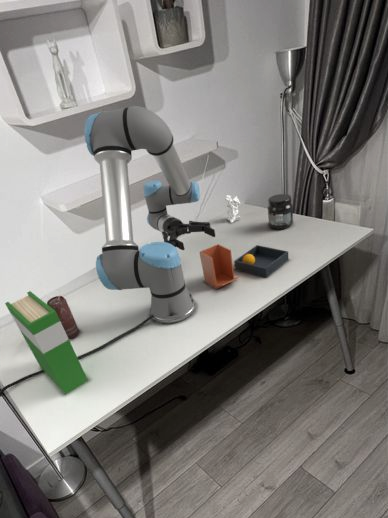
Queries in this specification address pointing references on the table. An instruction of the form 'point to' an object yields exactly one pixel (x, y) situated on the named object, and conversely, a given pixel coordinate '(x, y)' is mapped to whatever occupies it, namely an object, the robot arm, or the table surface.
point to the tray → (262, 261)
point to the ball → (249, 259)
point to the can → (64, 316)
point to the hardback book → (48, 341)
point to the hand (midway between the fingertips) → (198, 239)
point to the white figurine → (232, 208)
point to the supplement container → (280, 211)
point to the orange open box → (217, 266)
